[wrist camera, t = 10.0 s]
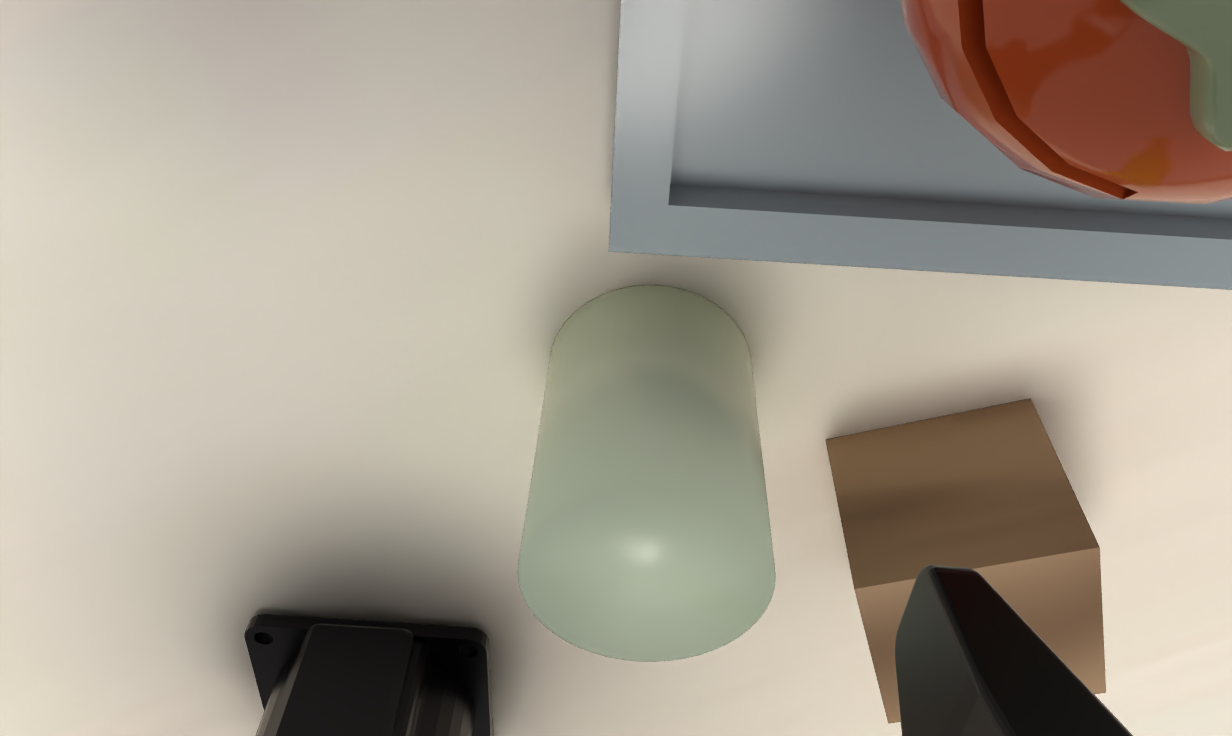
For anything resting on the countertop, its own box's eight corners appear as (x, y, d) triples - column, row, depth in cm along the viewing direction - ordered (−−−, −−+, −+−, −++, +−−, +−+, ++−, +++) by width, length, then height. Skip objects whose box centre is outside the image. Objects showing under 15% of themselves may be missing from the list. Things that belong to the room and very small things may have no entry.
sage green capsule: (738, 452, 24) (757, 668, 19) (548, 440, 24) (519, 654, 19) (764, 292, 21) (793, 495, 16) (550, 278, 21) (516, 477, 16)
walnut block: (1042, 535, 25) (1106, 692, 21) (857, 568, 26) (888, 723, 22) (1029, 396, 22) (1099, 547, 19) (825, 437, 23) (854, 588, 20)
